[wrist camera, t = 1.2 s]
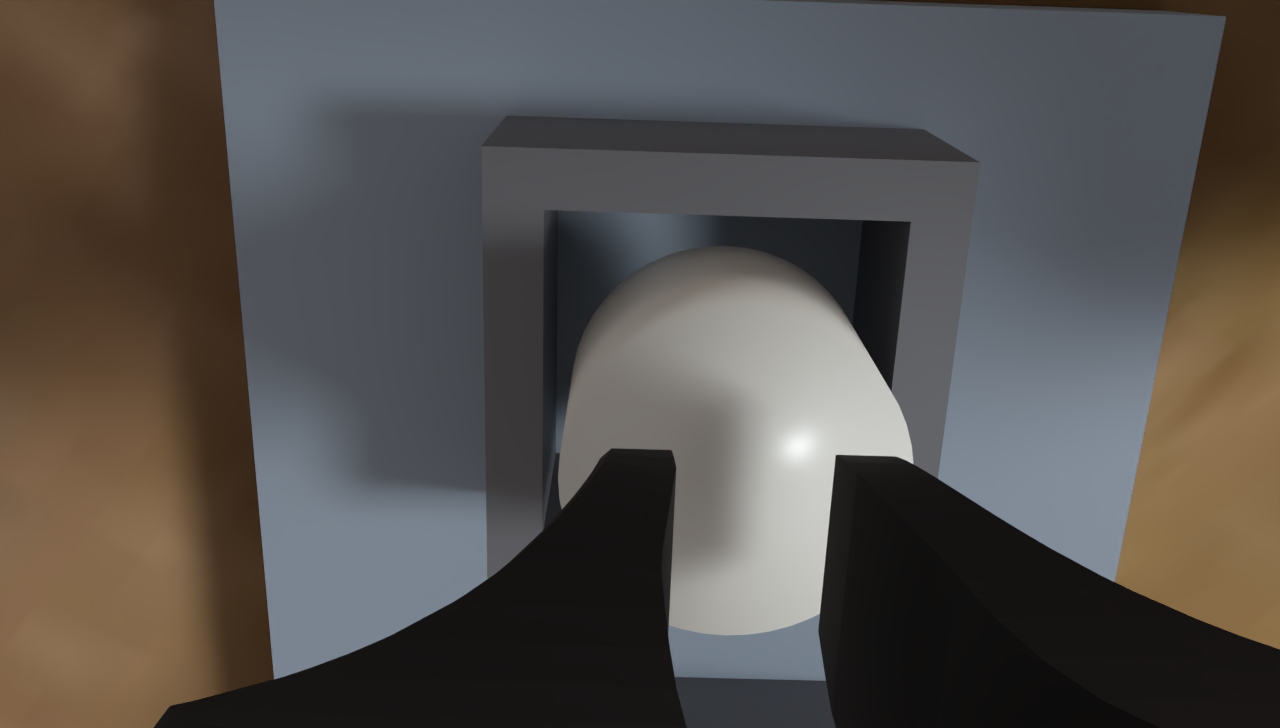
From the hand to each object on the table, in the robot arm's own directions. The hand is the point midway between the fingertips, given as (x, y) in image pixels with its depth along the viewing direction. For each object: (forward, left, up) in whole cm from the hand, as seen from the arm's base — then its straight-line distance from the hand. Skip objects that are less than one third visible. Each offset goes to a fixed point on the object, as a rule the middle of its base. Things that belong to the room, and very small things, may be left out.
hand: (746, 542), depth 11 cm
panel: (0, +5, -9) cm, 11 cm away
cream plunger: (0, 0, -4) cm, 4 cm away
